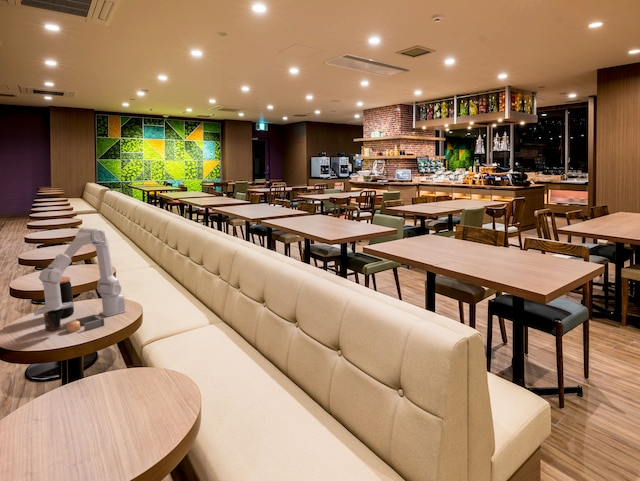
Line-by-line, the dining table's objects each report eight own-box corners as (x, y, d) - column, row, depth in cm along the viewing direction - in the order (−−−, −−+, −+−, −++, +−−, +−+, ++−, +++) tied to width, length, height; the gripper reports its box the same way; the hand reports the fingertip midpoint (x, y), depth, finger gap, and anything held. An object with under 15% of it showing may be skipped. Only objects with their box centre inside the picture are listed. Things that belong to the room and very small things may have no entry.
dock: (95, 320, 196) (94, 314, 196) (104, 325, 190) (103, 319, 190) (77, 325, 190) (76, 319, 189) (85, 330, 184) (85, 324, 184)
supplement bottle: (64, 326, 189) (61, 302, 187) (54, 331, 183) (52, 306, 181) (52, 325, 190) (49, 301, 188) (42, 330, 184) (39, 306, 182)
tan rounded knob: (77, 327, 188) (76, 319, 188) (82, 330, 185) (81, 322, 184) (65, 330, 184) (64, 323, 184) (70, 333, 181) (69, 325, 181)
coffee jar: (79, 312, 207) (75, 277, 203) (62, 320, 196) (58, 283, 193) (60, 311, 208) (56, 276, 205) (42, 318, 198) (38, 282, 195)
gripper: (36, 302, 169) (40, 334, 171) (75, 294, 180) (78, 324, 182) (30, 299, 173) (34, 330, 175) (68, 291, 184) (71, 320, 186)
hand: (56, 326), depth 179 cm, fingers closed
